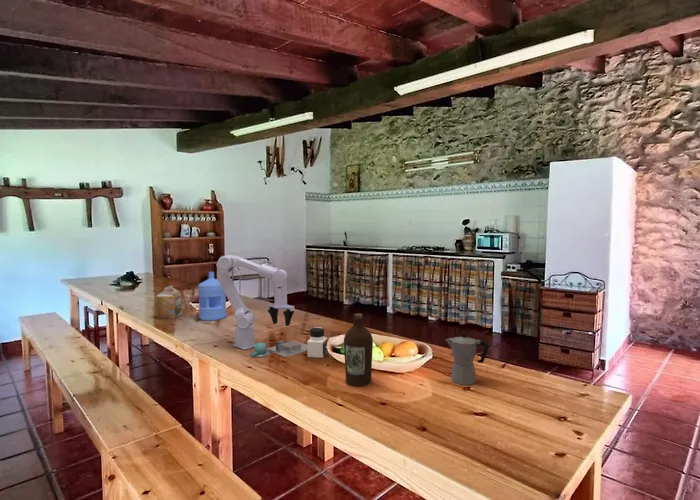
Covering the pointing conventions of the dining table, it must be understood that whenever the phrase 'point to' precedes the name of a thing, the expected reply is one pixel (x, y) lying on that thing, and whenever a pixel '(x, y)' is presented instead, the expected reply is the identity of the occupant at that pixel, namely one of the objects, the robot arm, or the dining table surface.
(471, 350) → the coffeepot
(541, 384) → the dining table surface
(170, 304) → the milk carton
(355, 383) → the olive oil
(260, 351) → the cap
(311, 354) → the medicine bottle
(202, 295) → the water jug
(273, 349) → the post base
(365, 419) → the dining table surface
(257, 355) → the coaster
